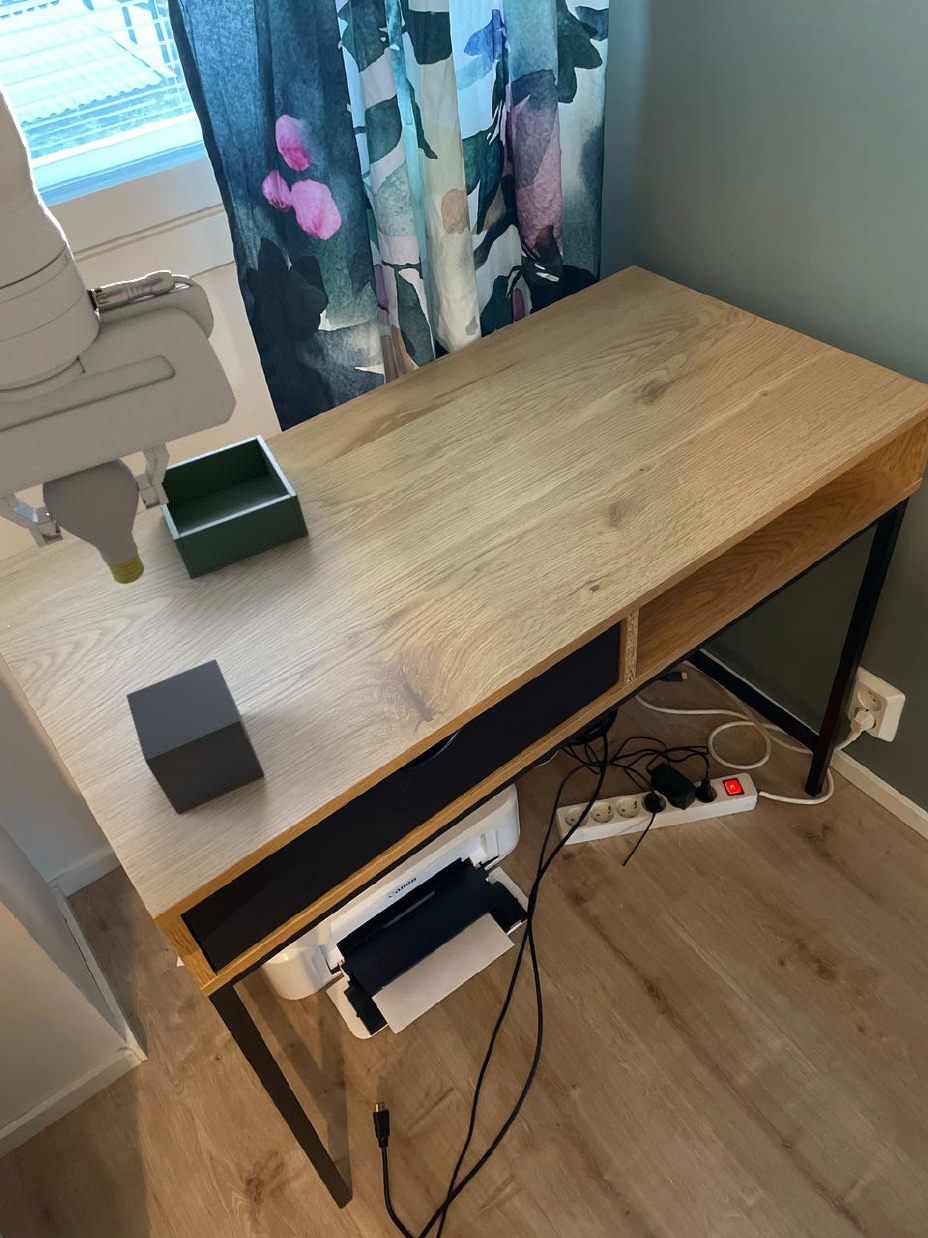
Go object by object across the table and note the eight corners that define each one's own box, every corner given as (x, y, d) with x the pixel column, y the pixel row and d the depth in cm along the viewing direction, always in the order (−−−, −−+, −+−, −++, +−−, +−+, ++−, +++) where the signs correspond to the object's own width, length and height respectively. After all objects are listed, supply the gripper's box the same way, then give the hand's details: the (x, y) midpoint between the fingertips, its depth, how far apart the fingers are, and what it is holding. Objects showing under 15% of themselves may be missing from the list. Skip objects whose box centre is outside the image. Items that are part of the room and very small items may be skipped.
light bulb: (185, 553, 62) (134, 430, 55) (154, 609, 58) (95, 484, 51) (112, 550, 63) (53, 429, 56) (77, 605, 59) (9, 482, 52)
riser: (177, 815, 68) (144, 761, 63) (157, 749, 72) (125, 694, 67) (265, 776, 70) (240, 721, 65) (240, 714, 74) (215, 658, 69)
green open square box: (190, 579, 87) (173, 540, 83) (163, 511, 95) (146, 473, 91) (308, 534, 90) (297, 494, 86) (272, 472, 98) (260, 434, 94)
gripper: (182, 242, 52) (246, 443, 61) (-201, 347, 47) (-65, 548, 56) (210, 282, 47) (273, 490, 57) (-207, 402, 42) (-59, 608, 52)
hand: (103, 520), depth 57 cm, fingers closed on light bulb, 5 cm apart
